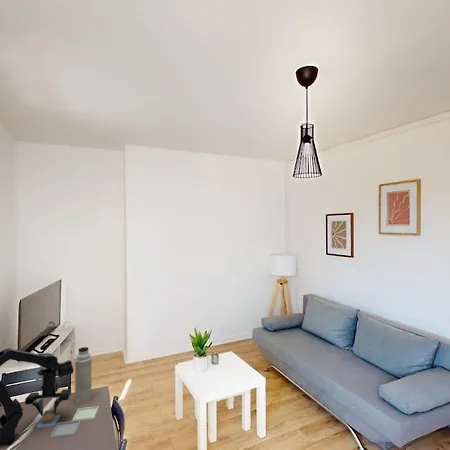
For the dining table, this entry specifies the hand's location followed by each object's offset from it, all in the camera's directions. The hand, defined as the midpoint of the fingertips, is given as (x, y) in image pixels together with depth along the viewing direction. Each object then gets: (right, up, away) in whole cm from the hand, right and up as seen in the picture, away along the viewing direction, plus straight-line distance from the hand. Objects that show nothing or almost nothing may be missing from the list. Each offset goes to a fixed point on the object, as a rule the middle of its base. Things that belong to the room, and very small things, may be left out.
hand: (48, 414), depth 144 cm
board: (0, -4, 0) cm, 4 cm away
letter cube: (0, -3, 0) cm, 3 cm away
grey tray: (+11, -4, -6) cm, 13 cm away
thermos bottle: (+7, -5, +20) cm, 22 cm away
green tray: (+15, -4, +6) cm, 17 cm away
